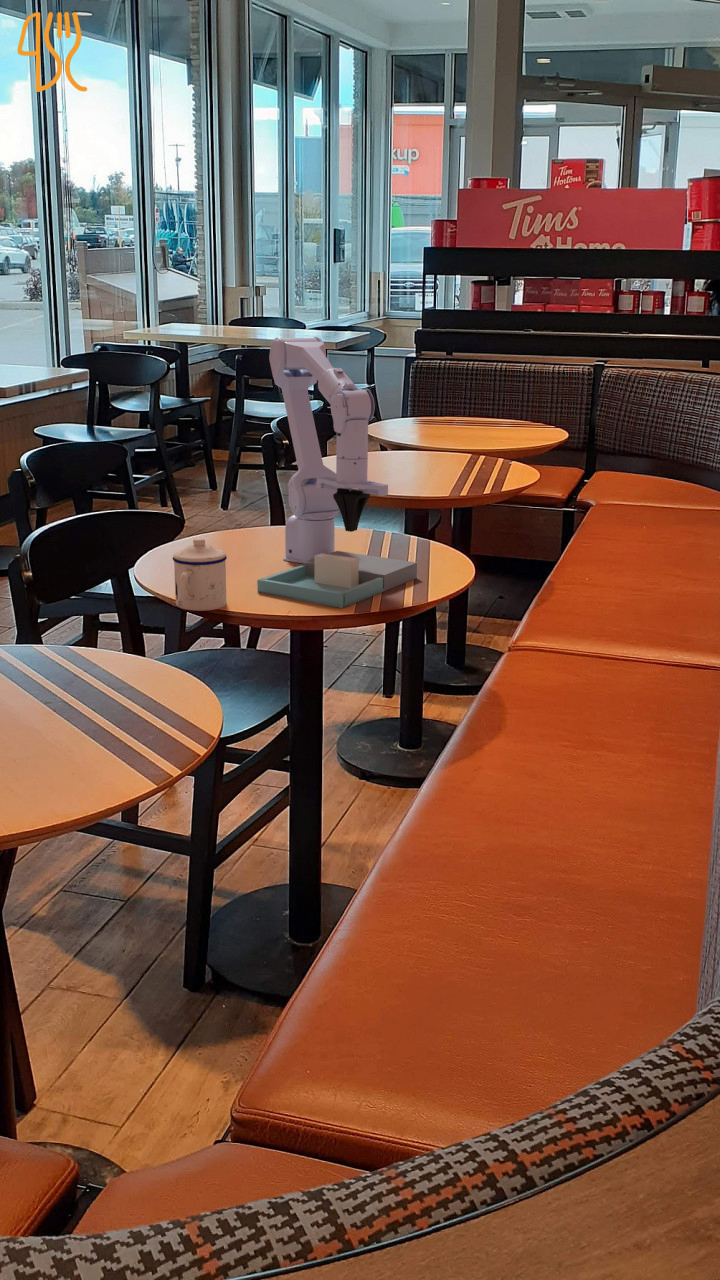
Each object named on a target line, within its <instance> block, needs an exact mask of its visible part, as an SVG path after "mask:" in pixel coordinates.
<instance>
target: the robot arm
mask: <svg viewBox="0 0 720 1280" xmlns="http://www.w3.org/2000/svg"><path fill="white" fill-rule="evenodd" d="M269 349H270V350H269V356H268V357H269V364H270V369H271V374H272V377H273V380H274V385H276V386H277V387H278V388H280V389H281V392H282V397H283V401H284V407H285V412H286V416H287V420H288V425H289V432H290V437H291V439H292V445H293V451H294V455H295V461H296V464H297V469H298V470H297V471H296V472H295V473H294V474H292V476H291V477H290V478H289V481H288V483H287V490H288V499H287V500H288V505H289V509H290V511H291V513H292V515H291V516H290V517H289V518H288V519H287V521H286V524H285V530H284V533H285V534H284V535H285V539H284V540H285V541H284V542H285V544H284V545H285V548H284V549H285V556H284V557H283V561H284V562H285V561H286V562H292V563H297V564H302V562H305V561H308V560H311V559H314V556H315V555H319V554H322V553H323V554H329V553H332V552H335V542H336V541H335V536H336V535H335V523H336V522H335V521H336V520H335V518H338V516H339V515H338V514H339V513H340V515H341V518H342V522H343V525H344V529H345V532H351V533H353V532H355V531H358V528H359V522H360V519H361V517H362V514H363V510H364V508H365V506H366V504H367V503H368V500H369V499H370V498H371V497H370V496H371V495H374V496H377V497H386V496H388V495H389V484H386V483H380V482H376V481H372V480H368V463H369V462H368V459H369V457H368V456H369V454H368V453H369V451H368V450H369V422H370V421H372V419H373V418H374V414H375V409H376V408H375V407H376V406H375V399H374V396H373V394H372V392H371V390H370V389H369V388H358V386H357V385H356V384H355V383H354V382H353V381H352V380H351V378H350V377H349V376H348V375H347V374H346V373H345V372H344V371H345V370H344V369H342V368H341V367H333V366H332V364H331V362H330V361H329V360H328V358H327V353H326V352H327V351H326V349H327V348H326V344H325V343H324V341H323V340H322V339H321V337H319V336H314V337H278V336H277V337H275V338H274V339H273V340H272V341H271V344H270V348H269ZM315 384H317V389H318V391H319V392H320V393H321V395H322V396H323V397H324V398H325V400H326V401H327V402H328V403H329V405H330V412H331V416H332V421H333V431H334V432H335V433H336V452H335V453H336V455H335V456H336V457H335V458H336V460H335V461H336V468H335V469H336V472H335V471H333V470H332V469H330V468H329V467H327V466H326V465H325V464H324V462H323V456H322V451H321V447H320V441H319V439H318V434H317V433H318V432H317V429H316V424H315V419H314V413H313V410H312V405H311V400H310V395H309V391H308V390H309V388H311V387H312V386H314V385H315Z"/></svg>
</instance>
